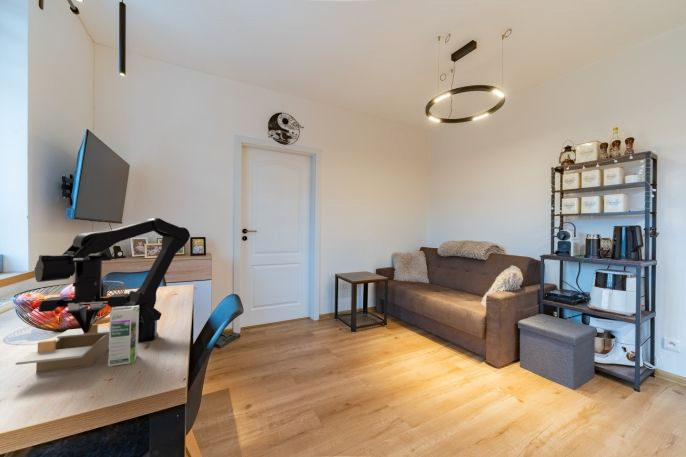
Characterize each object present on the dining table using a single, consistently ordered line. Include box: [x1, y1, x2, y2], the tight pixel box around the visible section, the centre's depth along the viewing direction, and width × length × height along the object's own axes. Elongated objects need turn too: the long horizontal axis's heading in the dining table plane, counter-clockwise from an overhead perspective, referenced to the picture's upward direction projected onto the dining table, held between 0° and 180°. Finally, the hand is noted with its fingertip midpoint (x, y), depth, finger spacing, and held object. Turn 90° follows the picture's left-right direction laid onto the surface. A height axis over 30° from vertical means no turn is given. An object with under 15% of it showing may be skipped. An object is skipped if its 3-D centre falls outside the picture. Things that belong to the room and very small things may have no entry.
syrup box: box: [107, 305, 139, 368], centre depth 78 cm, size 6×6×14 cm
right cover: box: [56, 323, 110, 339], centre depth 85 cm, size 12×6×3 cm, turn 113°
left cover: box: [15, 339, 93, 366], centre depth 69 cm, size 12×6×3 cm, turn 113°
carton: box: [35, 334, 109, 374], centre depth 78 cm, size 11×12×5 cm
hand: (86, 332), depth 81 cm, fingers closed
